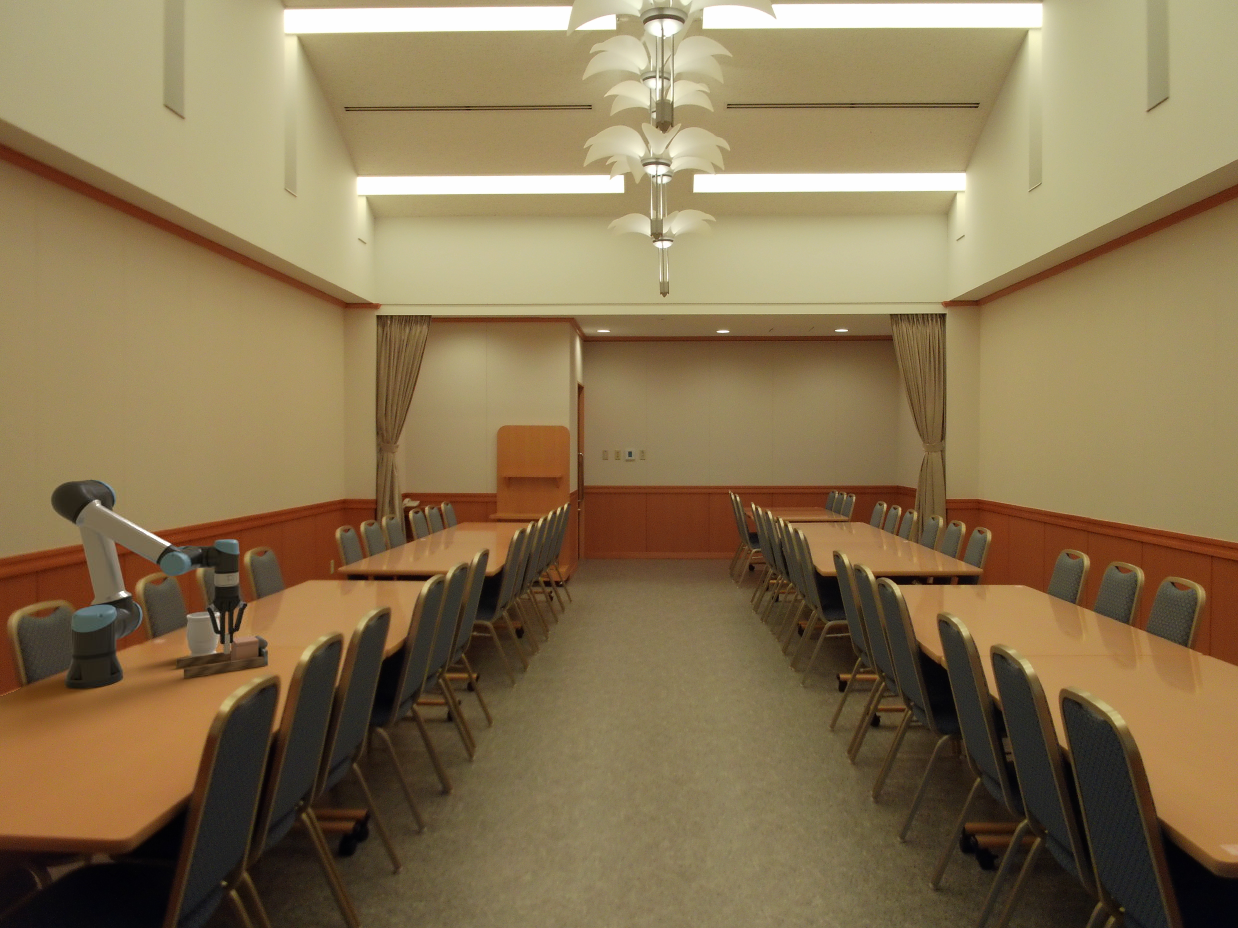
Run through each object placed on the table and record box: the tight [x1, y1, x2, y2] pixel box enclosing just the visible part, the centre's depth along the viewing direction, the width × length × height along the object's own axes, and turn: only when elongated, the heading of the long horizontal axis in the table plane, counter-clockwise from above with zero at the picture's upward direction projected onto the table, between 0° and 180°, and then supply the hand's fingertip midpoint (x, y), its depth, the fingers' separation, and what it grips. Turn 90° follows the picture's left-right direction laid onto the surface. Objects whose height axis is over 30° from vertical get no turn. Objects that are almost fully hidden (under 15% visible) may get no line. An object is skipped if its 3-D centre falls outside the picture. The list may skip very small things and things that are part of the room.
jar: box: [185, 611, 220, 657], centre depth 268 cm, size 11×10×15 cm
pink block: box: [230, 635, 259, 661], centre depth 259 cm, size 7×8×8 cm
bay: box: [176, 635, 269, 679], centre depth 255 cm, size 26×16×8 cm, turn 129°
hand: (226, 652), depth 255 cm, fingers closed
